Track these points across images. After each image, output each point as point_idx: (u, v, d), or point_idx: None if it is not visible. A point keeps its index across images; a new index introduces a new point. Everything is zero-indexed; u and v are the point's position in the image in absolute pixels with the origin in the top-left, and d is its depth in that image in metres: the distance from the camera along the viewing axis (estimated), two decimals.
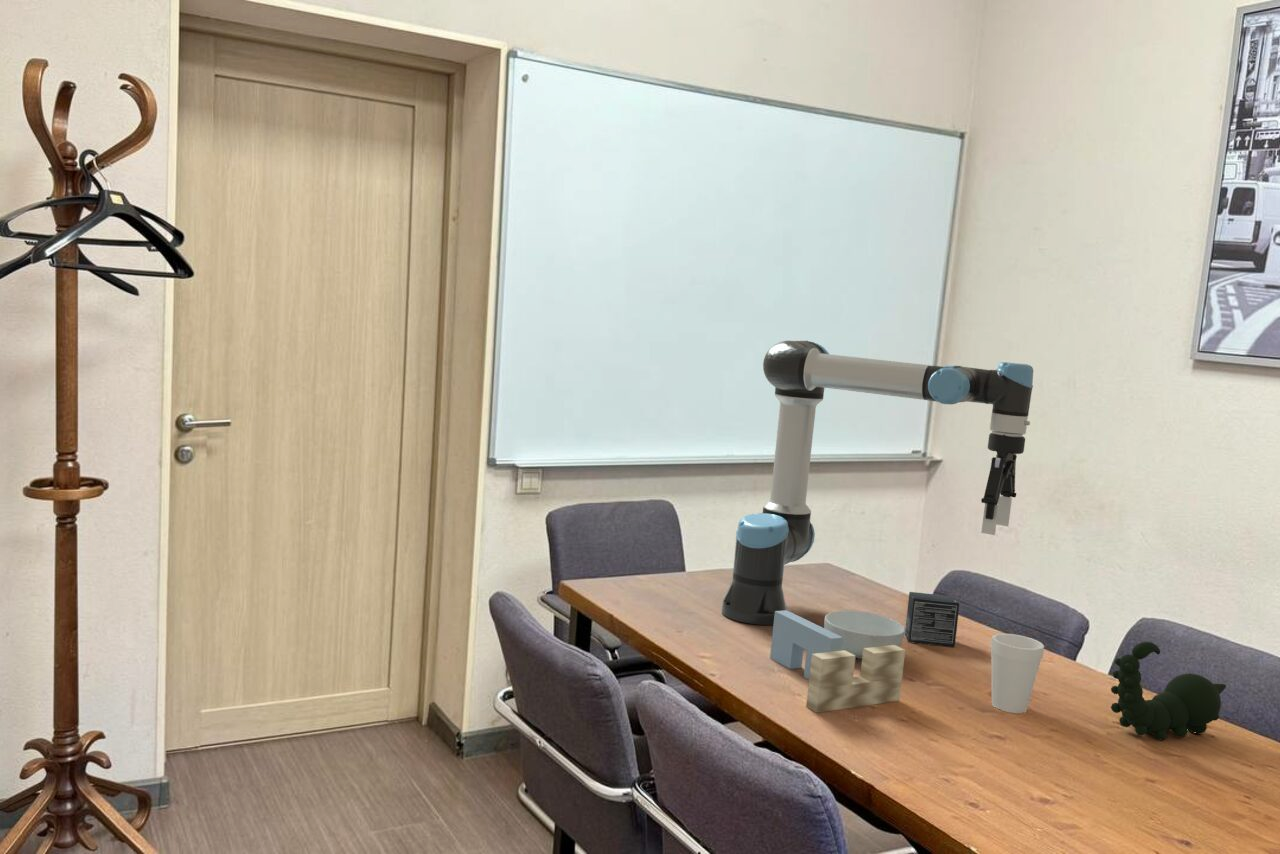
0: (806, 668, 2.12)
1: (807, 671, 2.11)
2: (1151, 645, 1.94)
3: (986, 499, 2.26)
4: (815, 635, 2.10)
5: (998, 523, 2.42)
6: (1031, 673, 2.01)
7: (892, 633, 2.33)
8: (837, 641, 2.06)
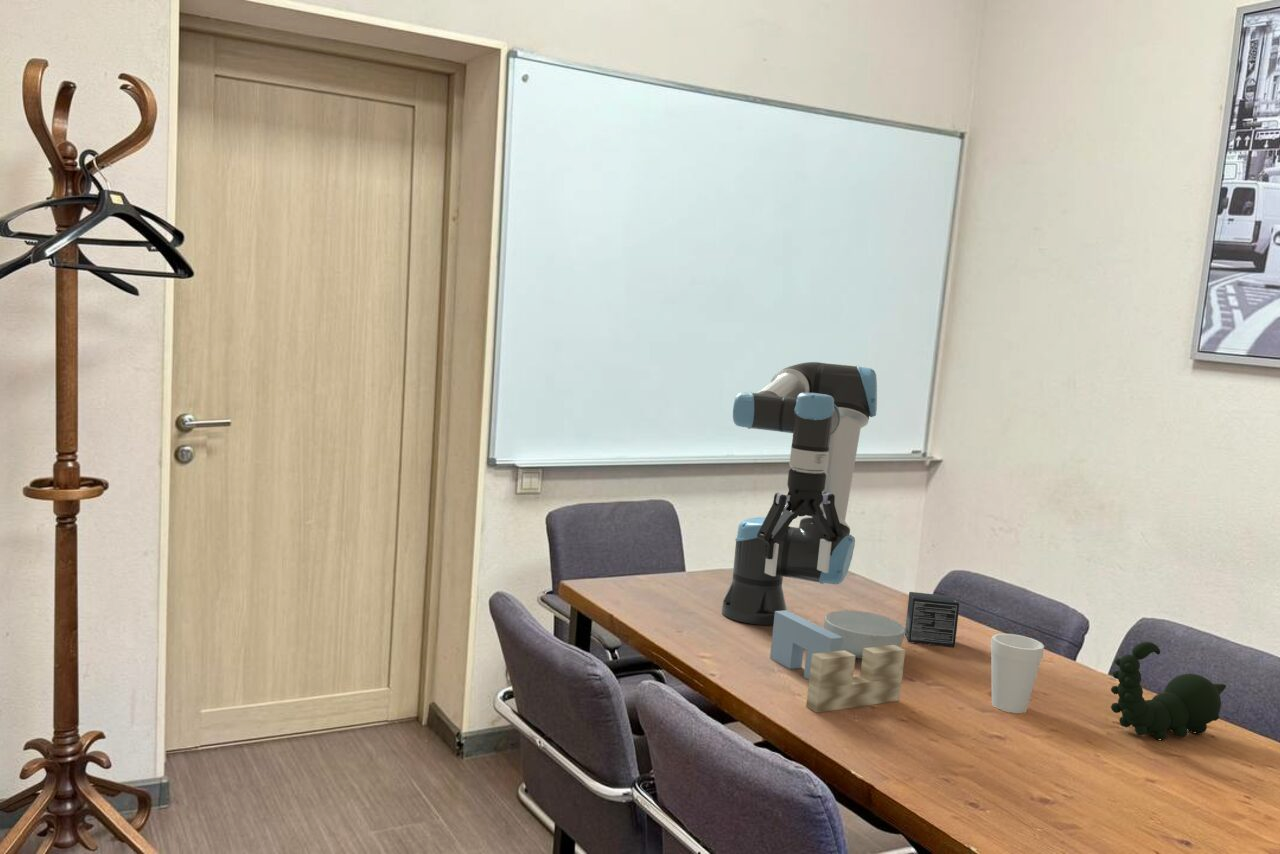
0: (806, 668, 2.12)
1: (807, 671, 2.11)
2: (1151, 645, 1.94)
3: (759, 536, 2.13)
4: (815, 635, 2.10)
5: (819, 568, 2.22)
6: (1031, 673, 2.01)
7: (892, 633, 2.33)
8: (837, 641, 2.06)
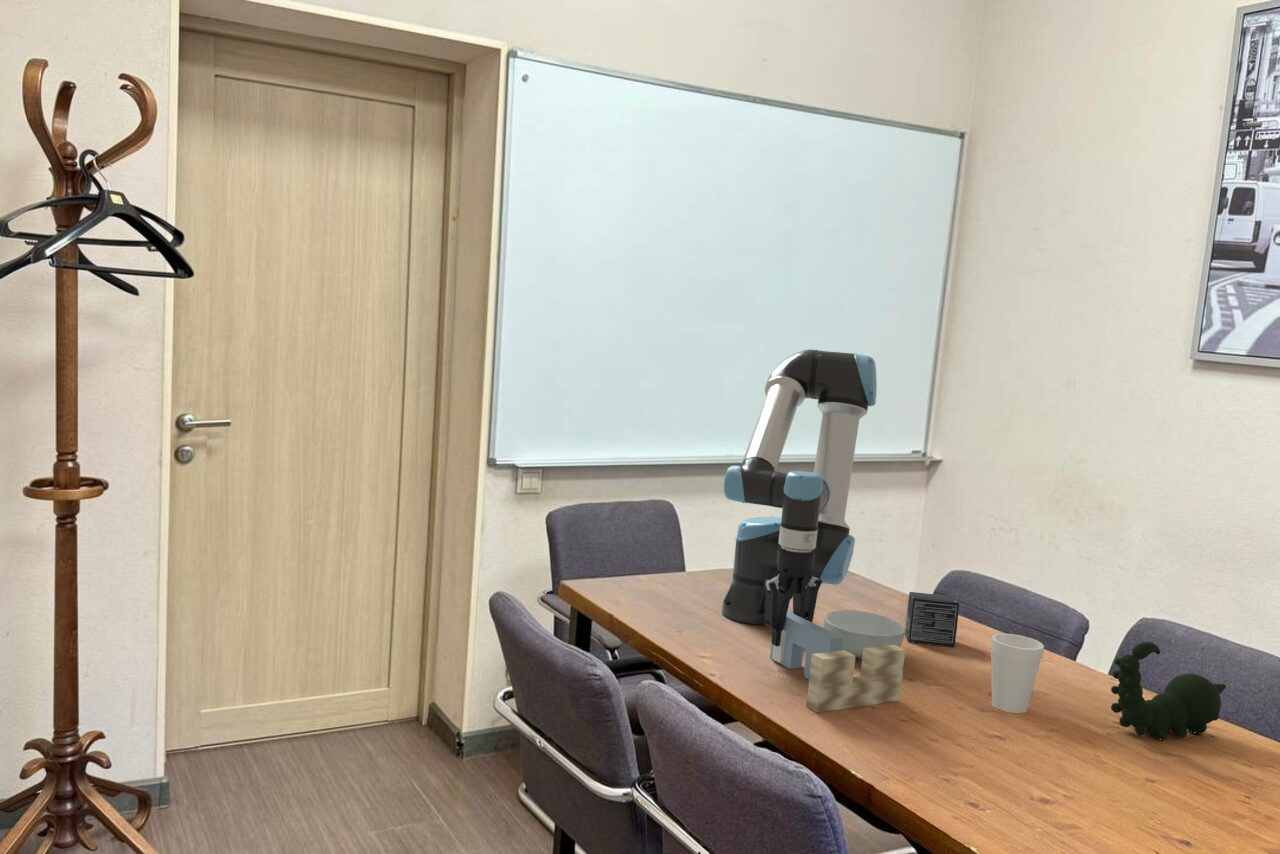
0: (806, 668, 2.12)
1: (807, 671, 2.11)
2: (1151, 645, 1.94)
3: (766, 624, 2.17)
4: (815, 635, 2.10)
5: None
6: (1031, 673, 2.01)
7: (892, 633, 2.33)
8: (837, 641, 2.06)
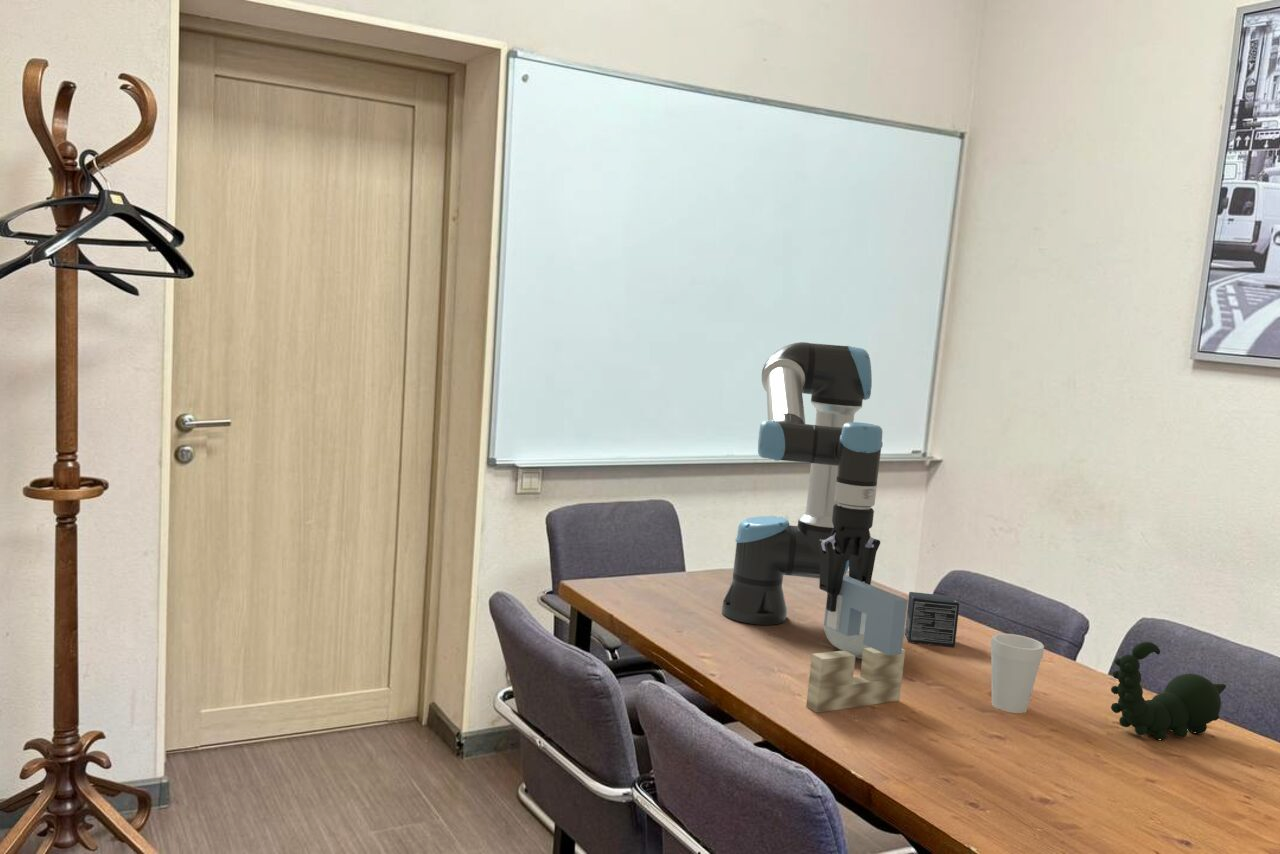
0: (866, 634, 1.95)
1: (867, 637, 1.95)
2: (1151, 645, 1.94)
3: (821, 587, 2.00)
4: (876, 597, 1.93)
5: None
6: (1031, 673, 2.01)
7: None
8: (901, 603, 1.90)
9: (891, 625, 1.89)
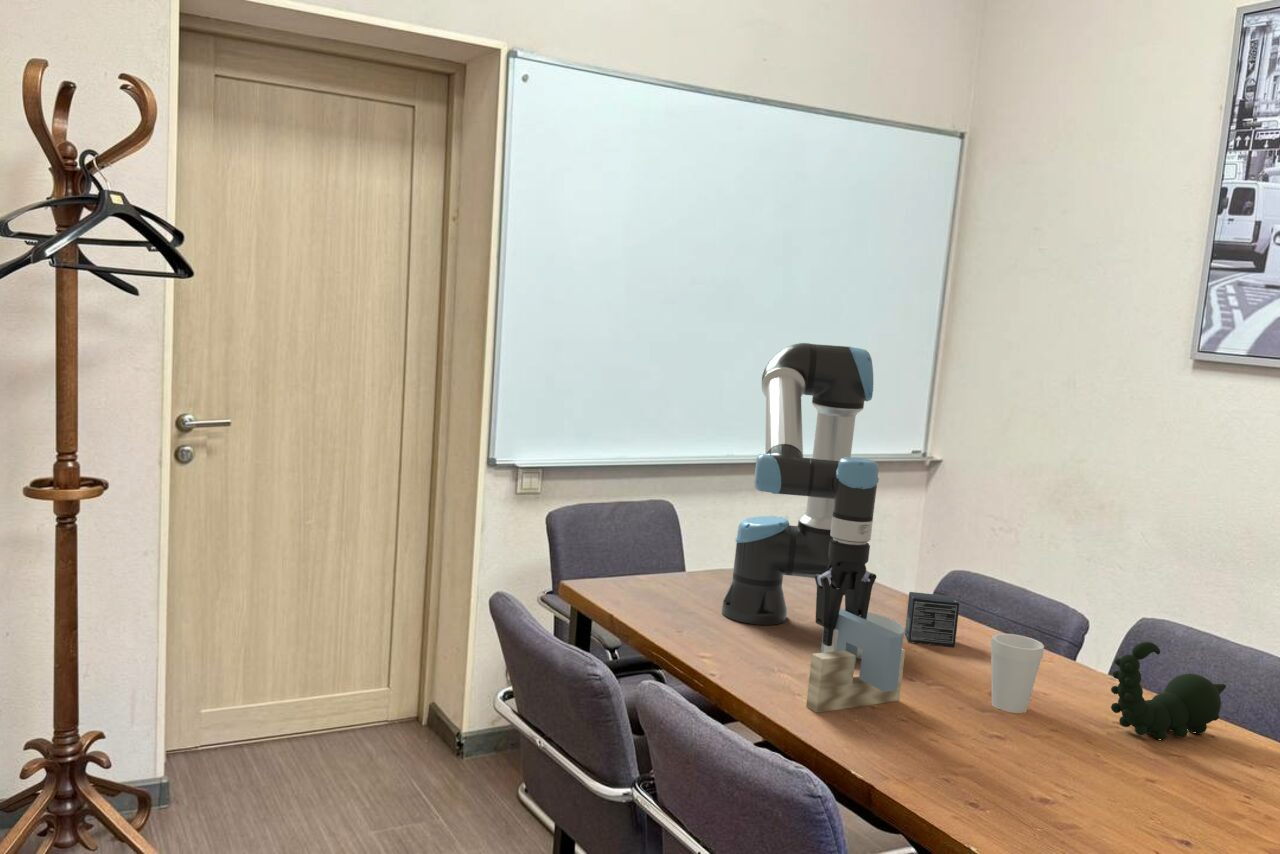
0: (862, 669, 1.96)
1: (863, 673, 1.95)
2: (1151, 645, 1.94)
3: (817, 622, 2.01)
4: (872, 633, 1.94)
5: None
6: (1031, 673, 2.01)
7: None
8: (897, 640, 1.90)
9: (887, 661, 1.90)
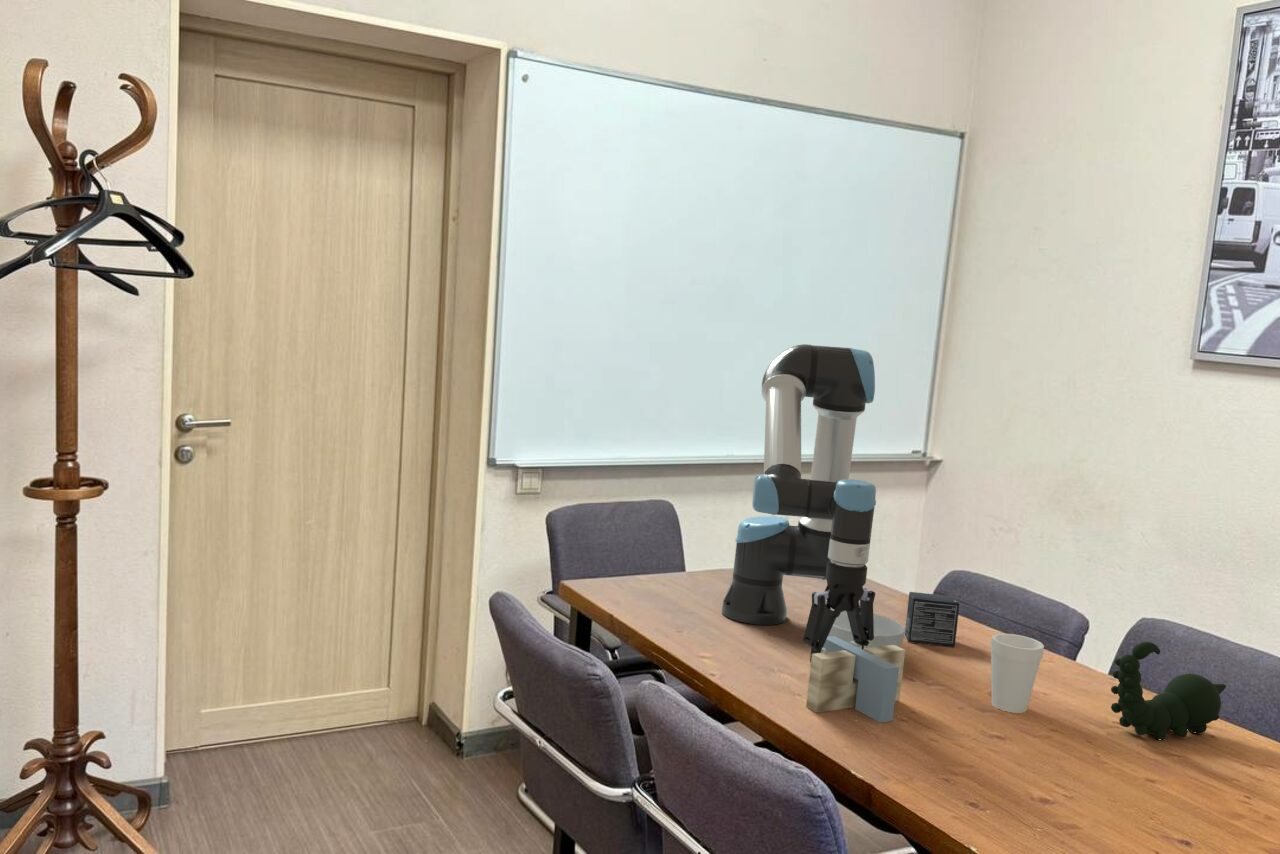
0: (858, 699, 1.97)
1: (859, 703, 1.96)
2: (1151, 645, 1.94)
3: (805, 641, 2.01)
4: (868, 664, 1.95)
5: None
6: (1031, 673, 2.01)
7: (892, 633, 2.33)
8: (893, 671, 1.91)
9: (883, 692, 1.91)
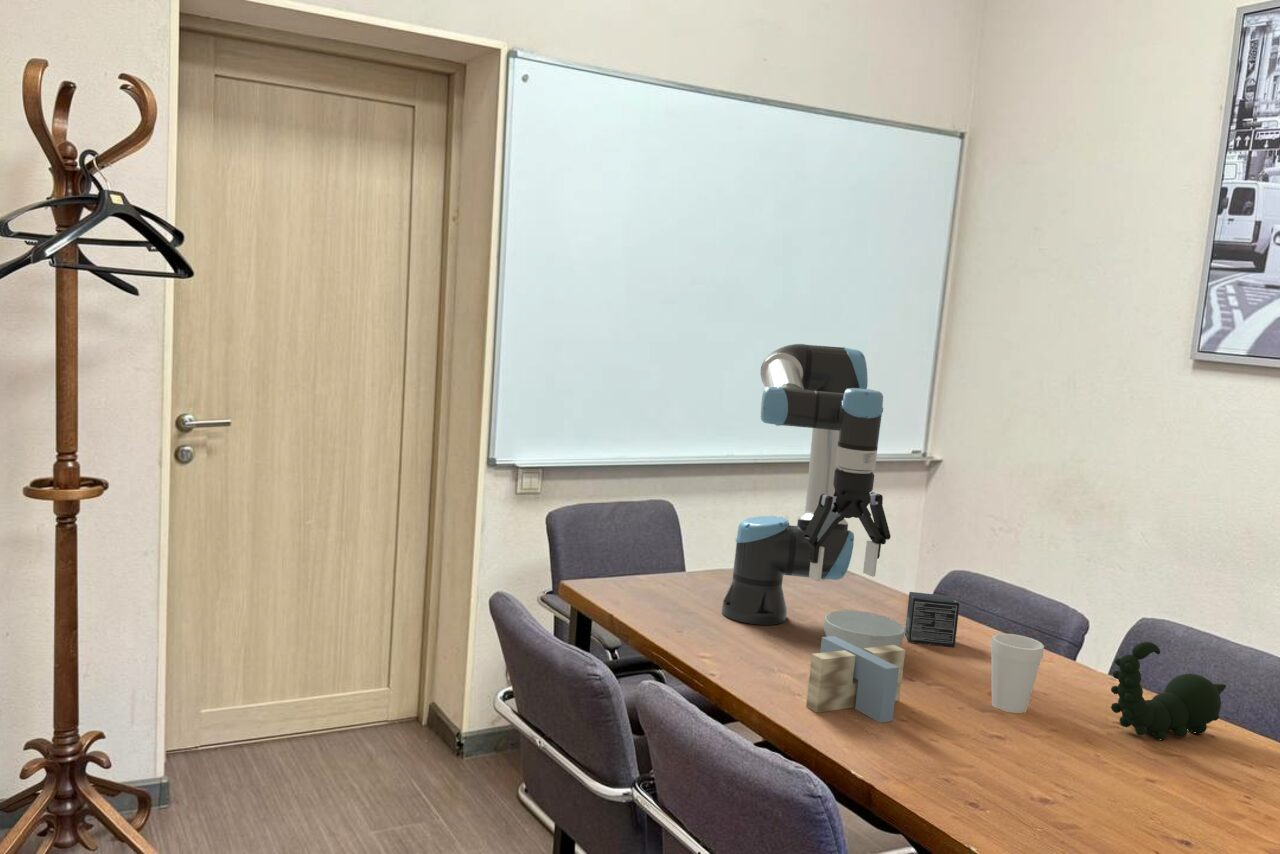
0: (858, 699, 1.97)
1: (859, 703, 1.96)
2: (1151, 645, 1.94)
3: (803, 539, 2.03)
4: (868, 664, 1.95)
5: (865, 572, 2.12)
6: (1031, 673, 2.01)
7: (892, 633, 2.33)
8: (893, 671, 1.91)
9: (883, 692, 1.91)
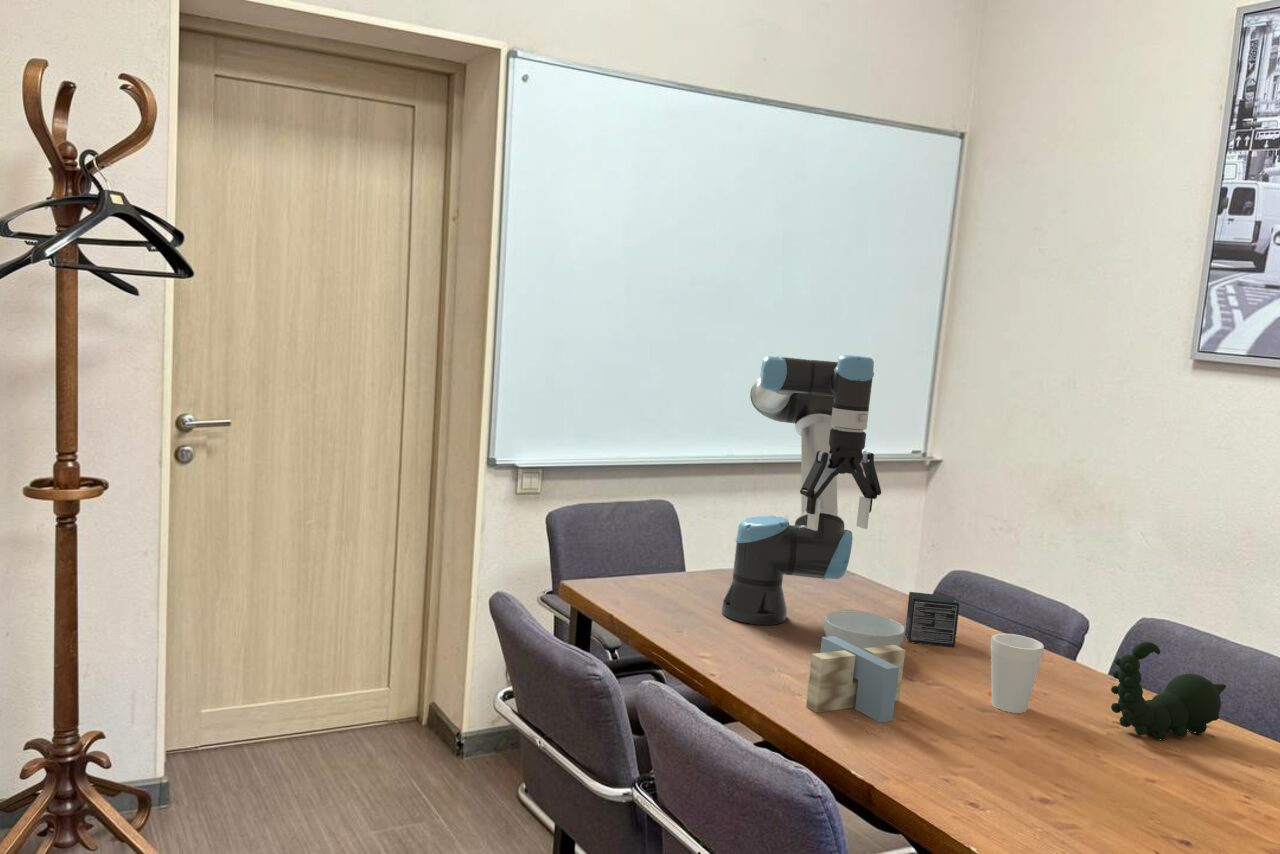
0: (858, 699, 1.97)
1: (859, 703, 1.96)
2: (1151, 645, 1.94)
3: (801, 492, 2.22)
4: (868, 664, 1.95)
5: (858, 525, 2.31)
6: (1031, 673, 2.01)
7: (892, 633, 2.33)
8: (893, 671, 1.91)
9: (883, 692, 1.91)
